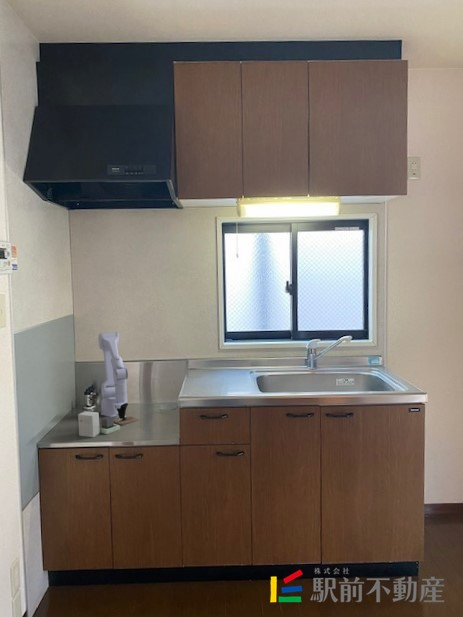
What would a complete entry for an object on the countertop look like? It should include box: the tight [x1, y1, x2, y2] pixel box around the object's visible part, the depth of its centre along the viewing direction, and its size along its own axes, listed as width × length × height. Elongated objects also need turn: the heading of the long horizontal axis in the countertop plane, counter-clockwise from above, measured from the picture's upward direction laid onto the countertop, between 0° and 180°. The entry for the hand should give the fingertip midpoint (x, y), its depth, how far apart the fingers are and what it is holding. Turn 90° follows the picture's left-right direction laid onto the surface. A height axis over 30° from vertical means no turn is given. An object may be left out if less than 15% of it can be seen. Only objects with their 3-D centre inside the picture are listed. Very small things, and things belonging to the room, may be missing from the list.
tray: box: [99, 423, 121, 435], centre depth 249 cm, size 8×8×2 cm
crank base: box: [113, 415, 140, 426], centre depth 264 cm, size 11×11×1 cm
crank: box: [115, 414, 128, 422], centre depth 261 cm, size 9×4×4 cm, turn 162°
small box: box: [77, 410, 101, 438], centre depth 243 cm, size 8×6×10 cm
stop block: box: [100, 416, 115, 429], centre depth 249 cm, size 4×4×6 cm
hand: (122, 418), depth 258 cm, fingers closed, pressing on crank
